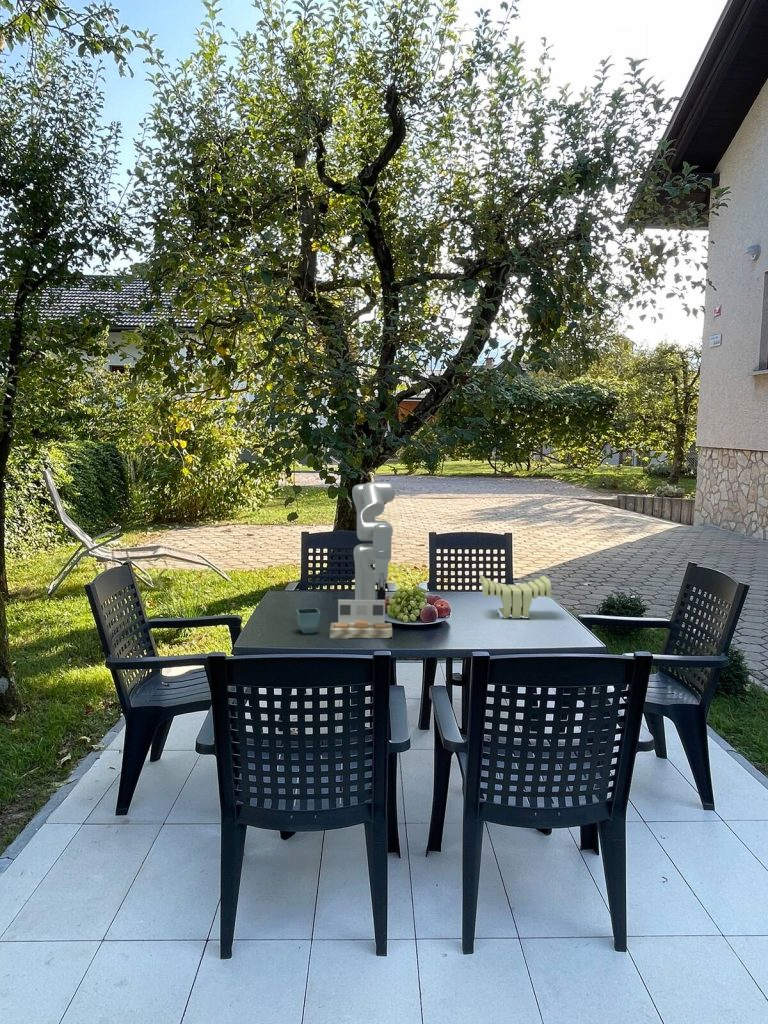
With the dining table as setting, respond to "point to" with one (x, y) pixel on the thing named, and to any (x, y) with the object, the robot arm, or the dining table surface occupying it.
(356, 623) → the middle key
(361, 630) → the key board
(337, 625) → the key
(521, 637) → the dining table surface
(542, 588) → the slatted curved stool
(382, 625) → the key
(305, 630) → the flower pot
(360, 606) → the pattern sign
